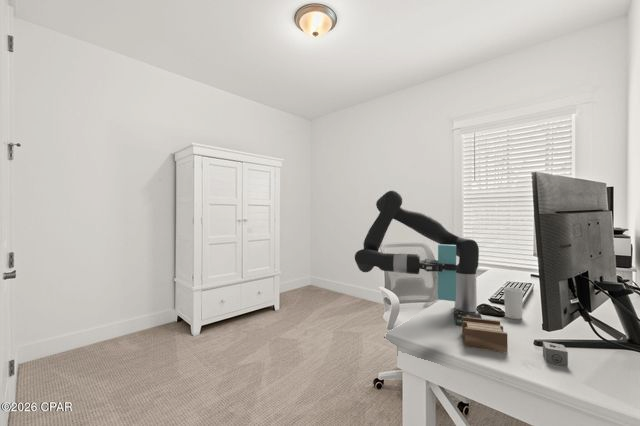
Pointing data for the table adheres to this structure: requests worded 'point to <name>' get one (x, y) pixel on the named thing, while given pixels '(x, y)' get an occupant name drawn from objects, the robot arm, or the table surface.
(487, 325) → the oak offcut middle
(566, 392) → the table surface
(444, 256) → the teal board
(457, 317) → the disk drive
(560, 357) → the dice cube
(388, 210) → the robot arm
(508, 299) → the mug
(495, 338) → the walnut rack
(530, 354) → the table surface
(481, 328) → the oak offcut front
